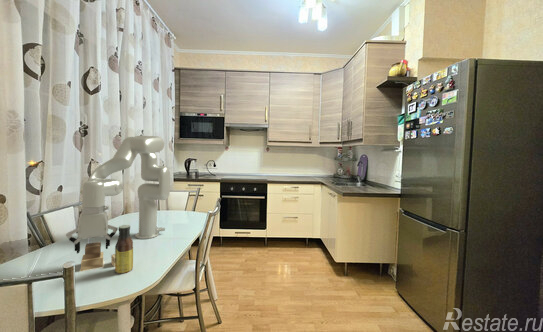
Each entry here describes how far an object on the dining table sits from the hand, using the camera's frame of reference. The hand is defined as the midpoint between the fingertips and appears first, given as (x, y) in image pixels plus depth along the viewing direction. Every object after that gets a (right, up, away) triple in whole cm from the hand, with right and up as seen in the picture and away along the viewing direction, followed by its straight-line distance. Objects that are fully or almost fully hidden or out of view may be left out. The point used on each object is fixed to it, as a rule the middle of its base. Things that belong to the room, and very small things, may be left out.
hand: (92, 250), depth 98 cm
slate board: (+1, -8, +1) cm, 8 cm away
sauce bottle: (+15, -9, -3) cm, 17 cm away
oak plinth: (0, -7, 0) cm, 7 cm away
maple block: (+9, -7, +3) cm, 12 cm away
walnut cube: (0, -3, 0) cm, 3 cm away
